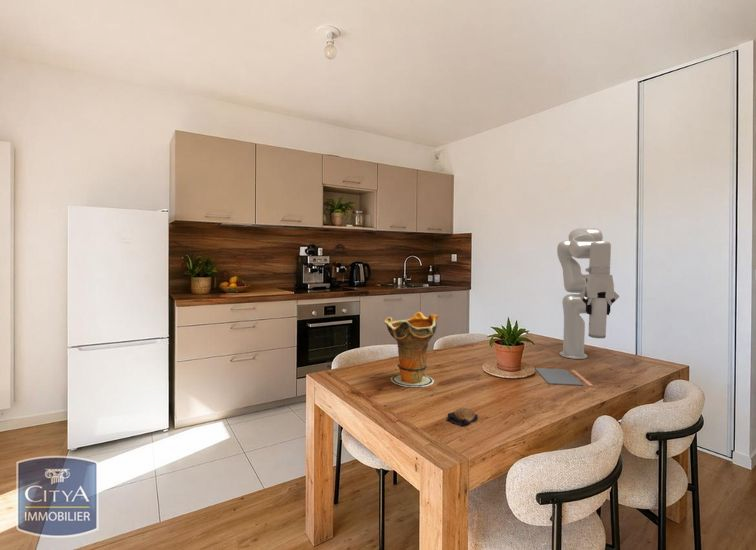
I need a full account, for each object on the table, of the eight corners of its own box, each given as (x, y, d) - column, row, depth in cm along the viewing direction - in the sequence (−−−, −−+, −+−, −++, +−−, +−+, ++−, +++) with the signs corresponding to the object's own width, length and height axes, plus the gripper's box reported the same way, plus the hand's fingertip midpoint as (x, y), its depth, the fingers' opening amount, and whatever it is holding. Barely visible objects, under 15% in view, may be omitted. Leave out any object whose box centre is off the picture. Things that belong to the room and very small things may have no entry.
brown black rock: (458, 411, 128) (458, 400, 128) (482, 418, 123) (482, 407, 122) (442, 422, 120) (442, 410, 120) (466, 430, 114) (466, 417, 114)
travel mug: (607, 336, 161) (609, 289, 159) (603, 339, 156) (605, 290, 154) (590, 334, 165) (592, 288, 163) (586, 336, 160) (588, 289, 159)
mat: (535, 369, 173) (535, 368, 173) (565, 370, 171) (565, 369, 171) (548, 384, 153) (548, 382, 153) (583, 385, 151) (583, 384, 151)
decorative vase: (373, 380, 156) (375, 312, 155) (408, 371, 173) (410, 309, 172) (413, 393, 142) (417, 318, 141) (447, 381, 159) (450, 314, 158)
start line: (571, 370, 171) (571, 370, 171) (574, 370, 171) (574, 370, 171) (589, 386, 151) (589, 385, 151) (593, 386, 151) (593, 385, 151)
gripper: (580, 271, 156) (579, 315, 157) (626, 271, 154) (624, 316, 155) (573, 270, 163) (572, 312, 165) (617, 270, 161) (615, 313, 162)
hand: (597, 313), depth 160 cm, fingers closed on travel mug, 6 cm apart
